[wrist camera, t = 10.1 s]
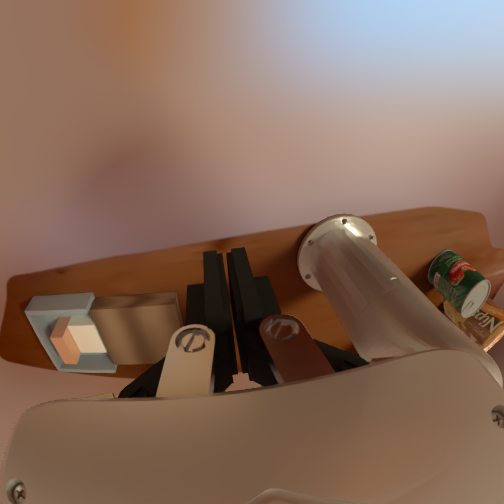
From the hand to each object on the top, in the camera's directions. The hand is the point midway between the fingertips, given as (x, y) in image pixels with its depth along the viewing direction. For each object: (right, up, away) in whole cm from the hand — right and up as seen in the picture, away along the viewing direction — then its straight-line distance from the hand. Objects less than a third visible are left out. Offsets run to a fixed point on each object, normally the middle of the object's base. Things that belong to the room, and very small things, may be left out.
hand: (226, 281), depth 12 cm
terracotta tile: (-27, -13, +28) cm, 41 cm away
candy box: (+47, -8, +42) cm, 63 cm away
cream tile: (-25, -11, +30) cm, 41 cm away
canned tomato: (+38, -2, +37) cm, 53 cm away
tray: (-28, -12, +30) cm, 43 cm away
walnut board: (-16, -10, +32) cm, 37 cm away
